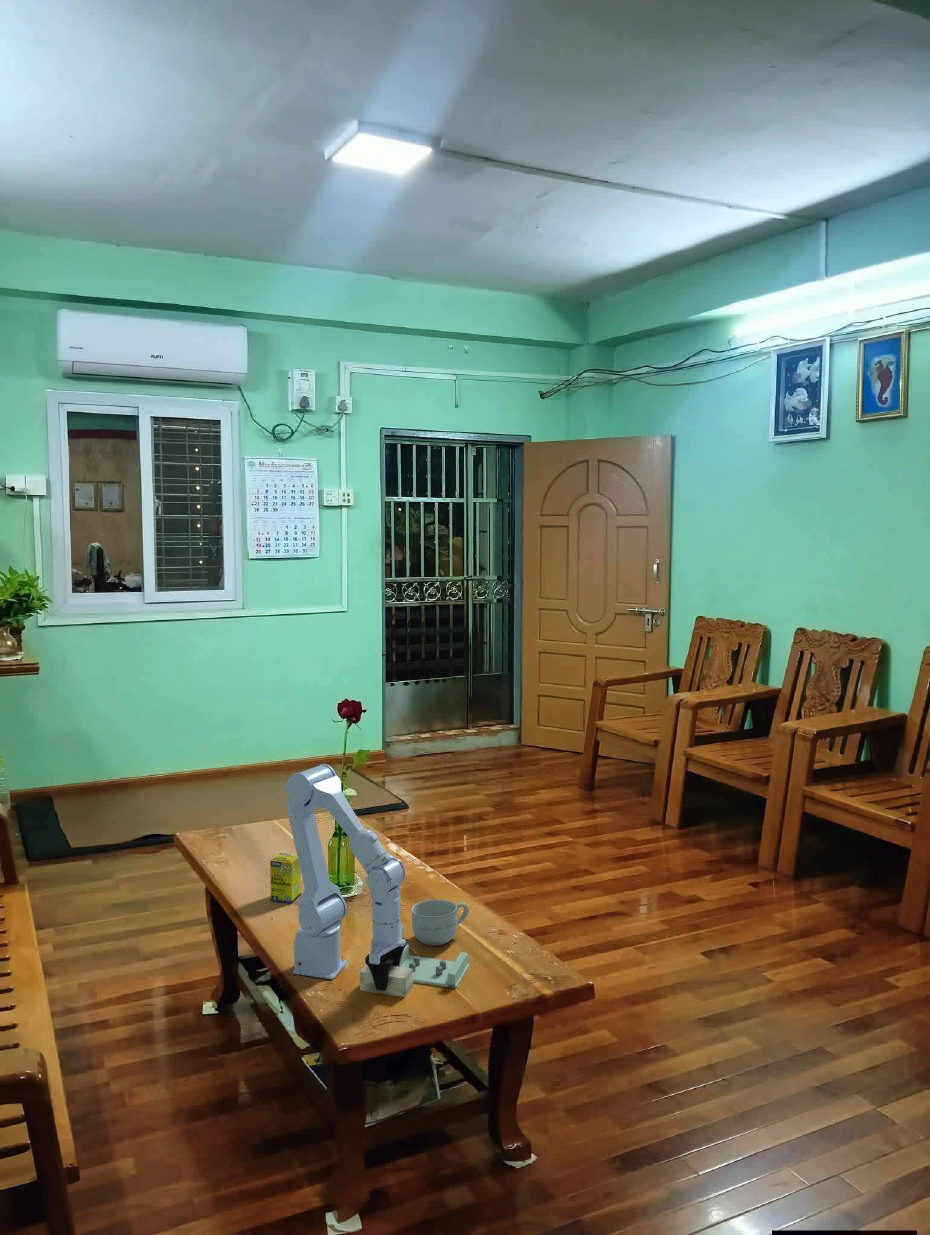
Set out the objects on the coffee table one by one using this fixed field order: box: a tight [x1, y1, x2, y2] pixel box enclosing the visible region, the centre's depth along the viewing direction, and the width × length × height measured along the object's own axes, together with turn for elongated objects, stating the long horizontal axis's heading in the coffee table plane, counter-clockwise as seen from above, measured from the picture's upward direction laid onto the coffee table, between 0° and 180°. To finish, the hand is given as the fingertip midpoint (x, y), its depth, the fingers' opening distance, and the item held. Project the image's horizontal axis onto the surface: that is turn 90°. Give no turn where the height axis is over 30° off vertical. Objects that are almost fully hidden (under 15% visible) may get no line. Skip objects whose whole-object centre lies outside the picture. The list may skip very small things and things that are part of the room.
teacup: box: [410, 899, 470, 947], centre depth 217 cm, size 14×11×8 cm
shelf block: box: [359, 963, 414, 998], centre depth 194 cm, size 10×4×4 cm, turn 74°
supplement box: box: [269, 852, 302, 905], centre depth 239 cm, size 6×6×11 cm
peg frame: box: [399, 944, 471, 989], centre depth 201 cm, size 16×10×3 cm, turn 74°
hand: (387, 981), depth 194 cm, fingers open, 6 cm apart
